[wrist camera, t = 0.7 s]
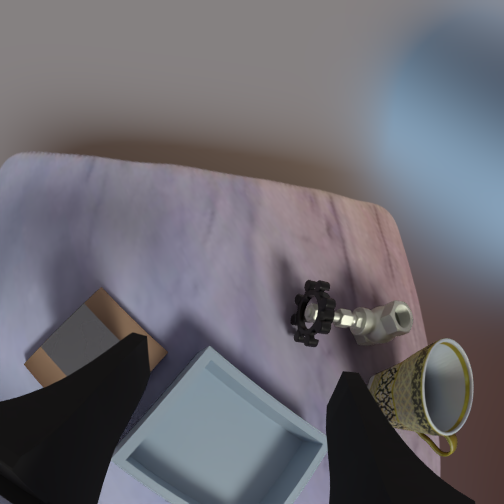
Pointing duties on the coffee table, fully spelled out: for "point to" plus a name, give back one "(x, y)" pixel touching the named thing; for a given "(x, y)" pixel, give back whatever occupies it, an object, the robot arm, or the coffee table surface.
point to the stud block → (113, 320)
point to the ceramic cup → (427, 392)
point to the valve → (348, 318)
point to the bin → (220, 441)
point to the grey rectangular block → (79, 341)
